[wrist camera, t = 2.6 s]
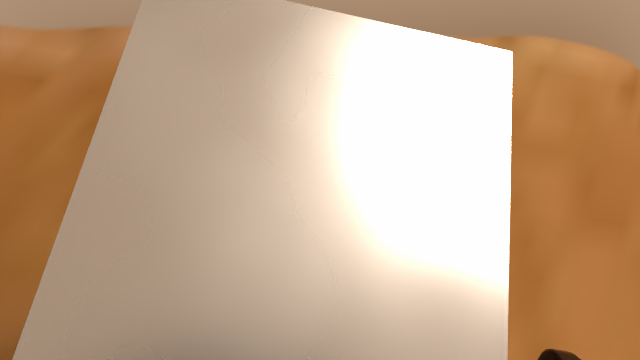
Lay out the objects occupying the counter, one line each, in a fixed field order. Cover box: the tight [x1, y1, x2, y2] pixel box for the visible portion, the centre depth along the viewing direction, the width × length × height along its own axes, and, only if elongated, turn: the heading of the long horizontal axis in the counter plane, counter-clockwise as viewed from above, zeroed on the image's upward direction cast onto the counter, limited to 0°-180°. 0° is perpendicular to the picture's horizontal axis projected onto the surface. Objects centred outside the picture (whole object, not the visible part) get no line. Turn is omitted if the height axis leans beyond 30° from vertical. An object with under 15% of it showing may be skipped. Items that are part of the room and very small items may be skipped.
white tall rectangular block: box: [12, 0, 512, 360], centre depth 10 cm, size 5×4×12 cm
